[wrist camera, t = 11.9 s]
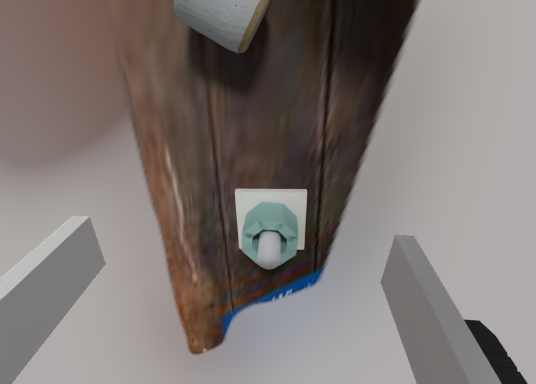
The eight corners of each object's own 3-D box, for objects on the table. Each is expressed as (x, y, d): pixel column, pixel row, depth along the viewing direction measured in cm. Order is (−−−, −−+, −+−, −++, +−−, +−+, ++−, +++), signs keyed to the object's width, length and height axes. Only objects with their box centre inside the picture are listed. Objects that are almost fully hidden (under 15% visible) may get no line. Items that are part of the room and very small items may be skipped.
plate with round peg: (235, 188, 45) (224, 225, 36) (306, 189, 45) (312, 226, 36) (240, 244, 50) (230, 288, 42) (303, 245, 50) (307, 290, 41)
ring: (273, 193, 43) (271, 210, 39) (306, 226, 46) (308, 246, 42) (235, 221, 46) (230, 241, 42) (268, 251, 49) (267, 273, 44)
